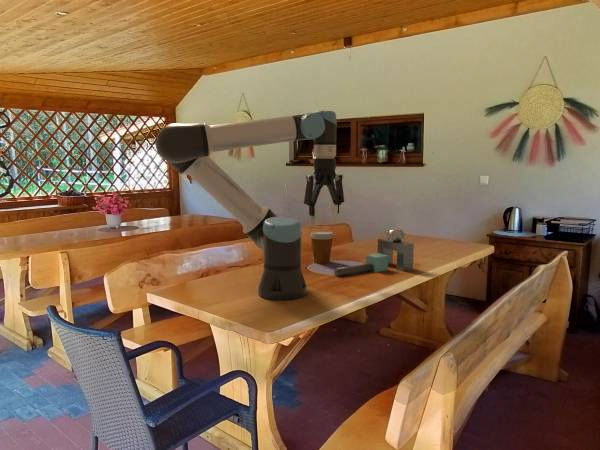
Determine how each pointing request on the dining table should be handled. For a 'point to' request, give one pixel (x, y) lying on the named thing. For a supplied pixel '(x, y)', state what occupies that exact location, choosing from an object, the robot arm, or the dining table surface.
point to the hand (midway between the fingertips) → (324, 224)
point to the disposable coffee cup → (321, 245)
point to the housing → (397, 249)
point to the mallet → (366, 265)
